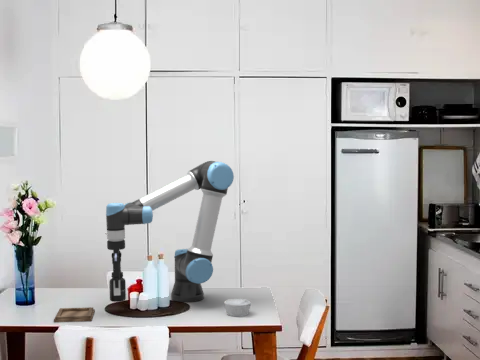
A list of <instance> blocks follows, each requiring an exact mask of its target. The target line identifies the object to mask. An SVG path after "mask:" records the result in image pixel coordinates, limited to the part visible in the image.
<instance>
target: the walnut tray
mask: <svg viewBox="0 0 480 360" xmlns="http://www.w3.org/2000/svg"><path fill="white" fill-rule="evenodd" d="M95 311H96V309H94V307H93V306H92V307H89V306H88V307H60V308H59V309H58V311H57V312H56V314H55V317H54V319H53V323H75V322H76V323H78V322H92V321H93V319H94V316H95Z"/></svg>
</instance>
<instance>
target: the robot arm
mask: <svg viewBox="0 0 480 360" xmlns="http://www.w3.org/2000/svg"><path fill="white" fill-rule="evenodd" d="M234 177H235V176H234V172H233V169H232V168H231V167H230V166H229V164H227V163H226V162H222V161H214V160H208V161H204V162H203V163H201V164H199V165H197V166H196V167H194V168H192V169H190V170H188V171H187V173H186V174H185V175H183V176H181V177H180V178H177V179H175V180H173V181H172V182H169V183H167V184H166V185H164V186H161V187H159V188H158V189H156V190H153V191H151V192H150V193H148V194H146V195H144V196H142V197H140V198H138V199H136V200H134V201H132V202H130V201H129V202H127V203H125V204H124V203H122V202H112V203H108V204H107V205H106V209H105V211H106V212H105V216H106V217H105V219H106V231H105V235H106V239H107V242H106V244H107V245H106V247H107V250H108V251H109V250H110V251H112V253H111V261H112V263H111V264H112V272H113V279H112V281H113V282H114V296H116V295H121V294H120V272H122V266H121V263H122V252H121V250H124V249H125V248H126V240H125V238H126V229H125V227H126V226H129V225H132V226H133V225H148V224H152V222H153V216H154V215H153V211H155V210H156V209H159V208H161V207H162V206H165V205H166V204H168V203H170V202H172V201H174V200H176V199H178V198H180V197H182V196H184V195H186V194H188V193H190V192H192V191H193V190H195V191H198V190H200V191H201V192H202V199H201V203H200V208H199V211H198V216H197V220H196V221H197V222H196V225H195V230H194V235H193V238H192V243H191V246H190V247H188V248H182V249H179V248H178V249H176V250H175V252H174V255H173V256H174V283H173V287H172V290H171V293H170V299H171V300H172V301H174V302H178V303H179V302H180V303H181V302H182V303H193V302H197V301H198V302H199V301H201V300H204V298H205V292H204V289H203V286H202V284H204V283H206V282H208V281H209V280H210V279H211V277H212V276H213V272H214V266H213V264H212V261H213V256H214V254H213V252H212V246H213V242H214V237H215V231H216V228H217V222H218V219H219V214H220V209H221V205H222V200H223V198H224V197H226V196H227V195H228V194H227V193H228V190H229V188H230V187H231V186H232V184H233V182H234Z"/></svg>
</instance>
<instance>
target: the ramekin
mask: <svg viewBox="0 0 480 360" xmlns="http://www.w3.org/2000/svg"><path fill="white" fill-rule="evenodd" d="M251 303H252V302H251V301H250V300H249V299H244V298H230V299H229V298H228V299H227V300H225V301H224V308H225V313H226V314H227V315H228V316H230V317H245V316H247V315H248V314H249V313H250V306H251V305H252V304H251Z"/></svg>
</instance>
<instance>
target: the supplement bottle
mask: <svg viewBox="0 0 480 360" xmlns="http://www.w3.org/2000/svg"><path fill="white" fill-rule="evenodd" d="M112 279H113V271H112V272H111V278H110V279H109V282H108V284H109V285H108V286H109V300H110V301H111V302H113V303H114V302H115V303H117V302H119V303H120V302H124V301H126V299H127V296H126V295H127V294H126V292H127V290H126V287H127V286H126V279H125V278H124V271H121V272H120V294H121V295H116V296H114V282H113V281H112Z"/></svg>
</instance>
